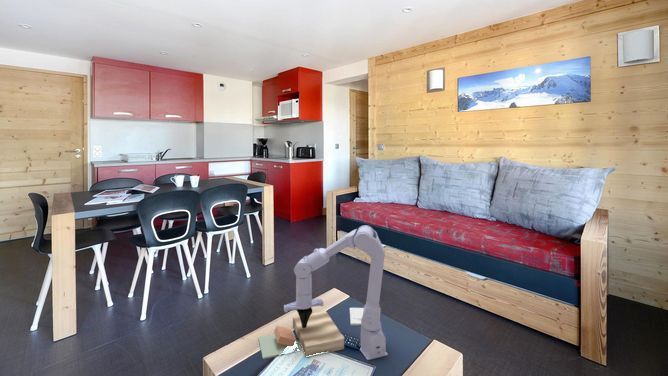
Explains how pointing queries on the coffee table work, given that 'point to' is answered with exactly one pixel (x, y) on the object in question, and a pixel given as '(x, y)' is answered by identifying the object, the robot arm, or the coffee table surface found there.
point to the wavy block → (318, 334)
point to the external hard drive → (356, 316)
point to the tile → (284, 336)
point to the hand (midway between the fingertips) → (303, 326)
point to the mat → (272, 346)
